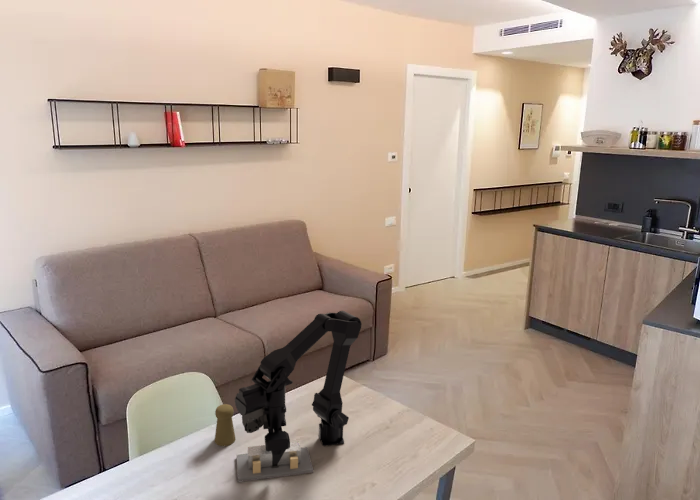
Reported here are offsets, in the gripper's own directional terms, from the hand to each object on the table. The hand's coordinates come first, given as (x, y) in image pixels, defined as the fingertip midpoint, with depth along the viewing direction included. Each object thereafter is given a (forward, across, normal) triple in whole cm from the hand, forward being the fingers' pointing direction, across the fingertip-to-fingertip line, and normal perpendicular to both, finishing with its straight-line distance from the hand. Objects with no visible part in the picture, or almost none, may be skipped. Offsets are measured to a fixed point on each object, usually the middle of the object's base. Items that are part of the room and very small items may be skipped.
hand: (274, 452), depth 145 cm
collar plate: (+4, 0, 0) cm, 4 cm away
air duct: (+3, 0, 0) cm, 3 cm away
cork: (+4, -14, -13) cm, 20 cm away
